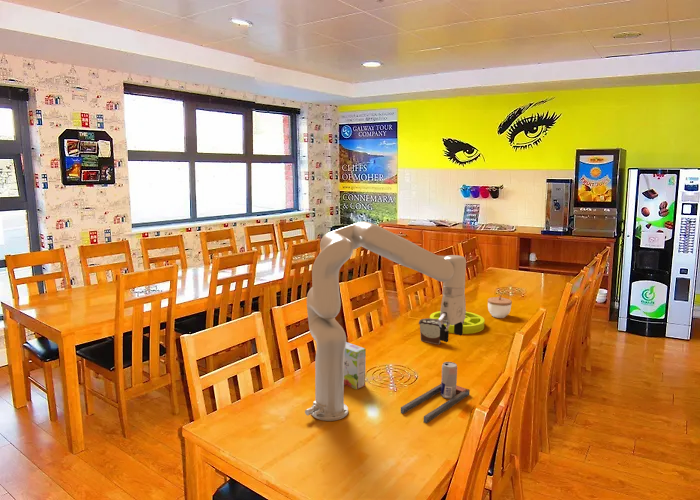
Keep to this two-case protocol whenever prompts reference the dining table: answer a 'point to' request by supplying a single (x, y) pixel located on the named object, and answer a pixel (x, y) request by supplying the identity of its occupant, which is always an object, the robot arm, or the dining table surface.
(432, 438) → the dining table surface
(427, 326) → the food container
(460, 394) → the guide track
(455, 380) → the energy drink
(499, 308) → the lidded bowl
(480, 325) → the pulley
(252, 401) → the dining table surface
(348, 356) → the snack box
